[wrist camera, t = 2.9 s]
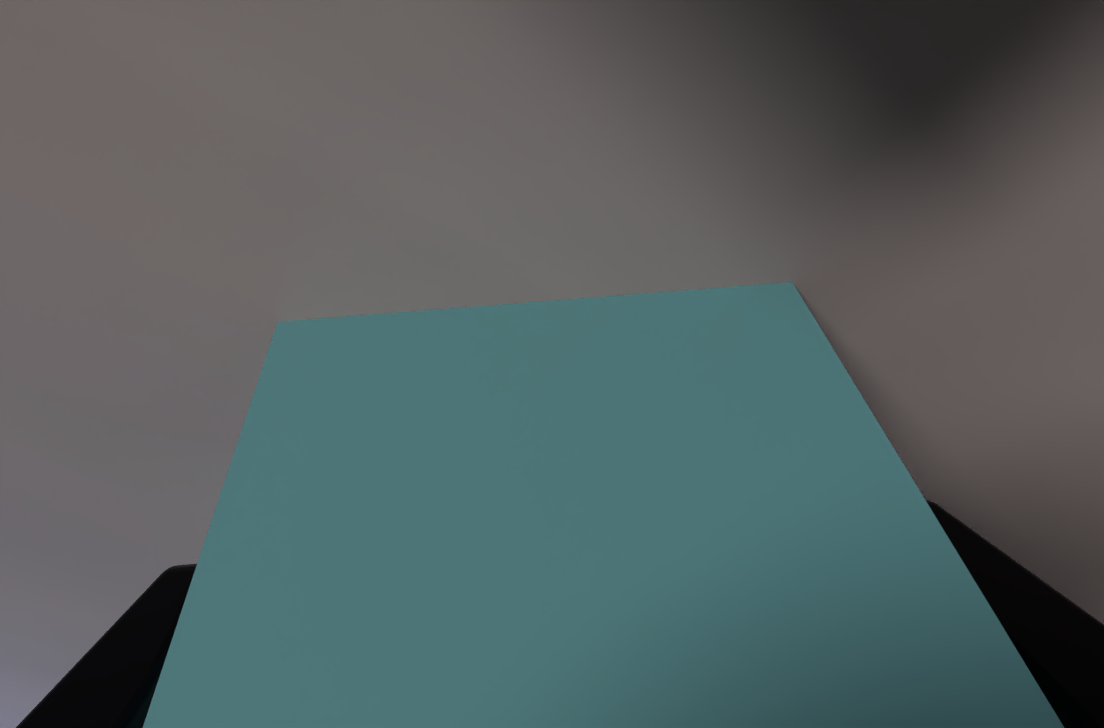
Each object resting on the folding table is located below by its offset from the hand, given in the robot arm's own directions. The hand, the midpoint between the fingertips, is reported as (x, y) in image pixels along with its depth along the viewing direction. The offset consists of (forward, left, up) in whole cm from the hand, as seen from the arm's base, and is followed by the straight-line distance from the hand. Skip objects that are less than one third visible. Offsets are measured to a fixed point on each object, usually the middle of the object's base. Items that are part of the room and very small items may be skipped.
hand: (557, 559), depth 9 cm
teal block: (0, 0, -1) cm, 1 cm away
